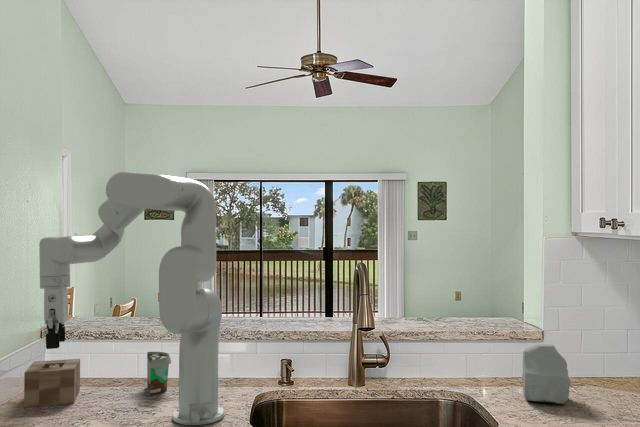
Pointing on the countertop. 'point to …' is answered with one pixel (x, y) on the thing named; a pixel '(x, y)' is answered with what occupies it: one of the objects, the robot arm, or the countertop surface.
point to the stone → (545, 375)
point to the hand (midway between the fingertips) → (55, 344)
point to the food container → (157, 372)
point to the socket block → (51, 383)
